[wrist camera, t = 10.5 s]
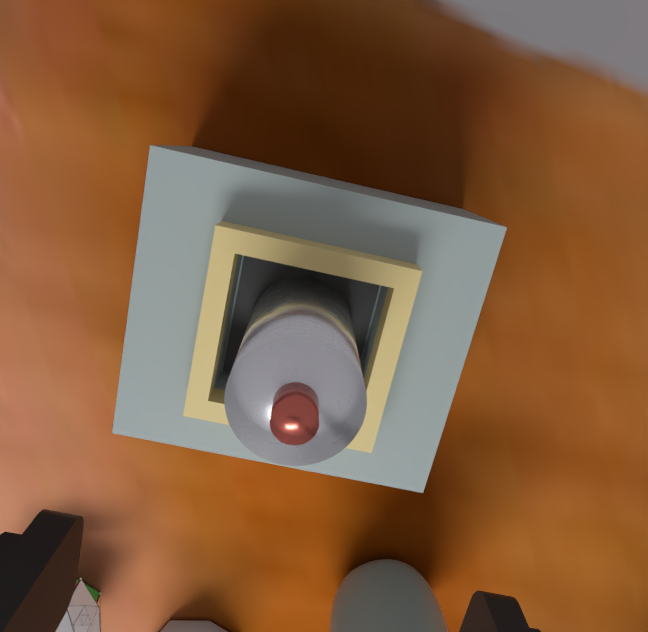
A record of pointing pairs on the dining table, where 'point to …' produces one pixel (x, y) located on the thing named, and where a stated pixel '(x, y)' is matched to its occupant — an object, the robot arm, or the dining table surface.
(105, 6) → the dining table surface
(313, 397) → the spout can
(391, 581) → the cup
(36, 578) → the robot arm
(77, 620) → the geometric puzzle
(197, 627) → the flask
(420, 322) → the box with square opening
